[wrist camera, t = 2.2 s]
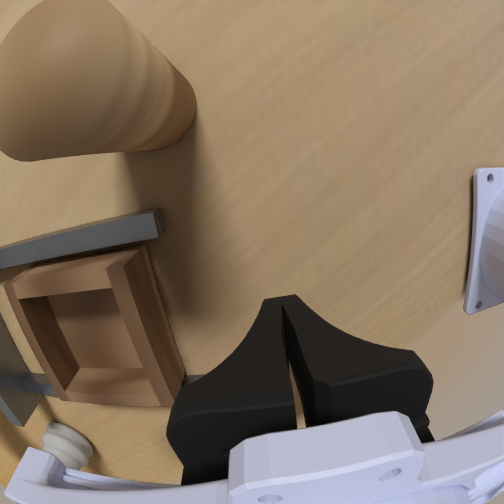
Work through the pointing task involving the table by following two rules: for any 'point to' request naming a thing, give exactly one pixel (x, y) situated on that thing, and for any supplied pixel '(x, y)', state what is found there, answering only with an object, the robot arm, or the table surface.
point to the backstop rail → (49, 246)
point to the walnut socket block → (99, 328)
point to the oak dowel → (87, 85)
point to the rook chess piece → (67, 445)
